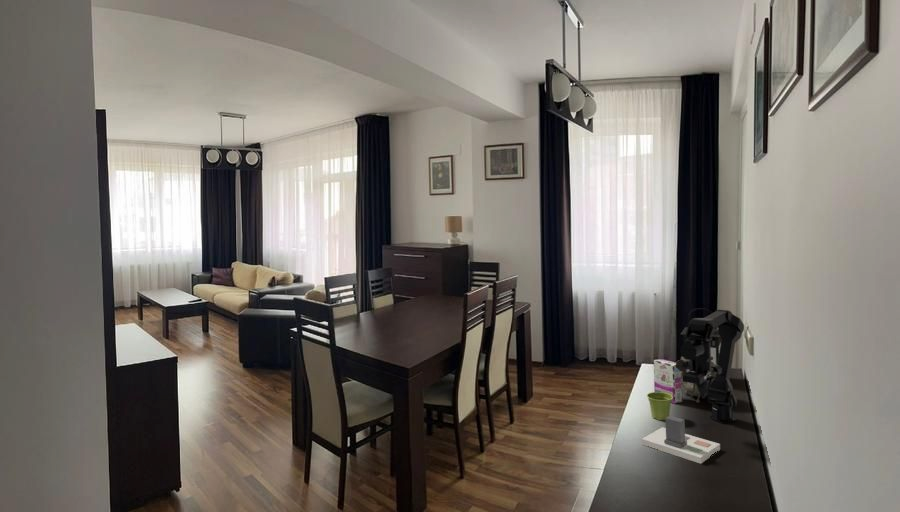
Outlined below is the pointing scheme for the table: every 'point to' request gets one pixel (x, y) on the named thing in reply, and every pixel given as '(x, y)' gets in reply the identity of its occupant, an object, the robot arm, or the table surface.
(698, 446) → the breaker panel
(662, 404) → the plant pot
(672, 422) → the handle
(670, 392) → the candy bar box
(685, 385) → the tabletop clock
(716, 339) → the lantern
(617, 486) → the table surface
